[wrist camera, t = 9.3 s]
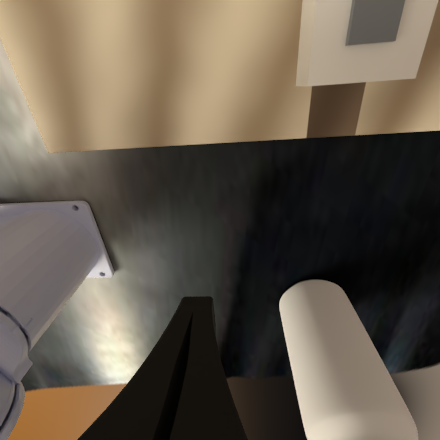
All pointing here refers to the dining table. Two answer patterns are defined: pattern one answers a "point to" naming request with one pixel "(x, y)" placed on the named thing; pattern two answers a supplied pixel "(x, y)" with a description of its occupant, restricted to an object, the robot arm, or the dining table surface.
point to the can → (339, 369)
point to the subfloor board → (193, 75)
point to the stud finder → (362, 40)
